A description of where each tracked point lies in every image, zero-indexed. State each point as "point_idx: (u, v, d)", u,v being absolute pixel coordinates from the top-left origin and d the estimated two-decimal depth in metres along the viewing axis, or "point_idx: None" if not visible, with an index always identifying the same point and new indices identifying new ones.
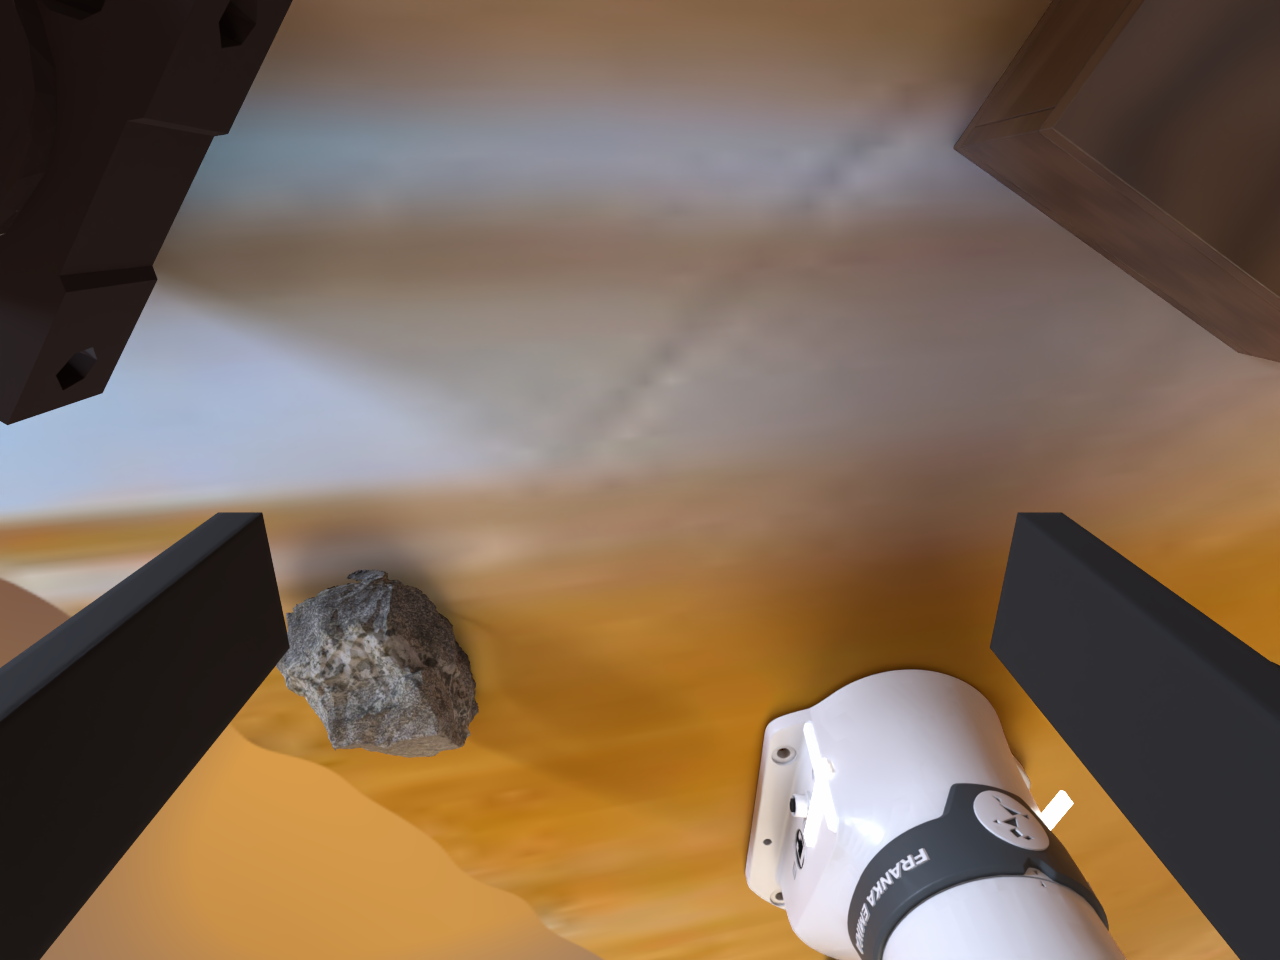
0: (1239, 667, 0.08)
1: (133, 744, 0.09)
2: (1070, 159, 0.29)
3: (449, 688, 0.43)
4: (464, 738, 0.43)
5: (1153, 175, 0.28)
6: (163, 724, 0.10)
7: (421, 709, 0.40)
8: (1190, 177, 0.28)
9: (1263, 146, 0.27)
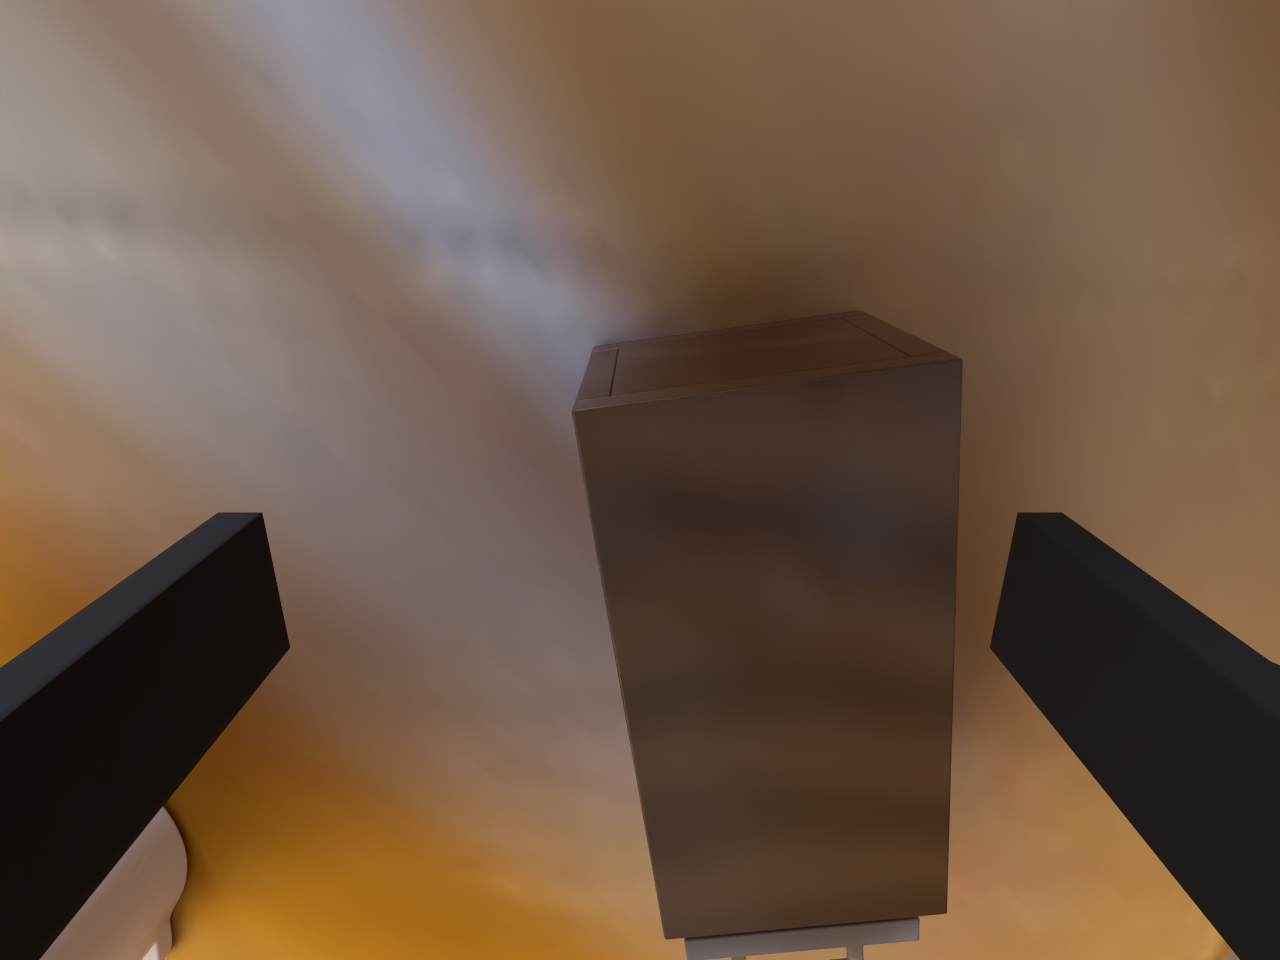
0: (1239, 667, 0.08)
1: (133, 743, 0.09)
2: None
3: None
4: None
5: (624, 559, 0.20)
6: (163, 724, 0.10)
7: None
8: (654, 596, 0.21)
9: (735, 633, 0.21)
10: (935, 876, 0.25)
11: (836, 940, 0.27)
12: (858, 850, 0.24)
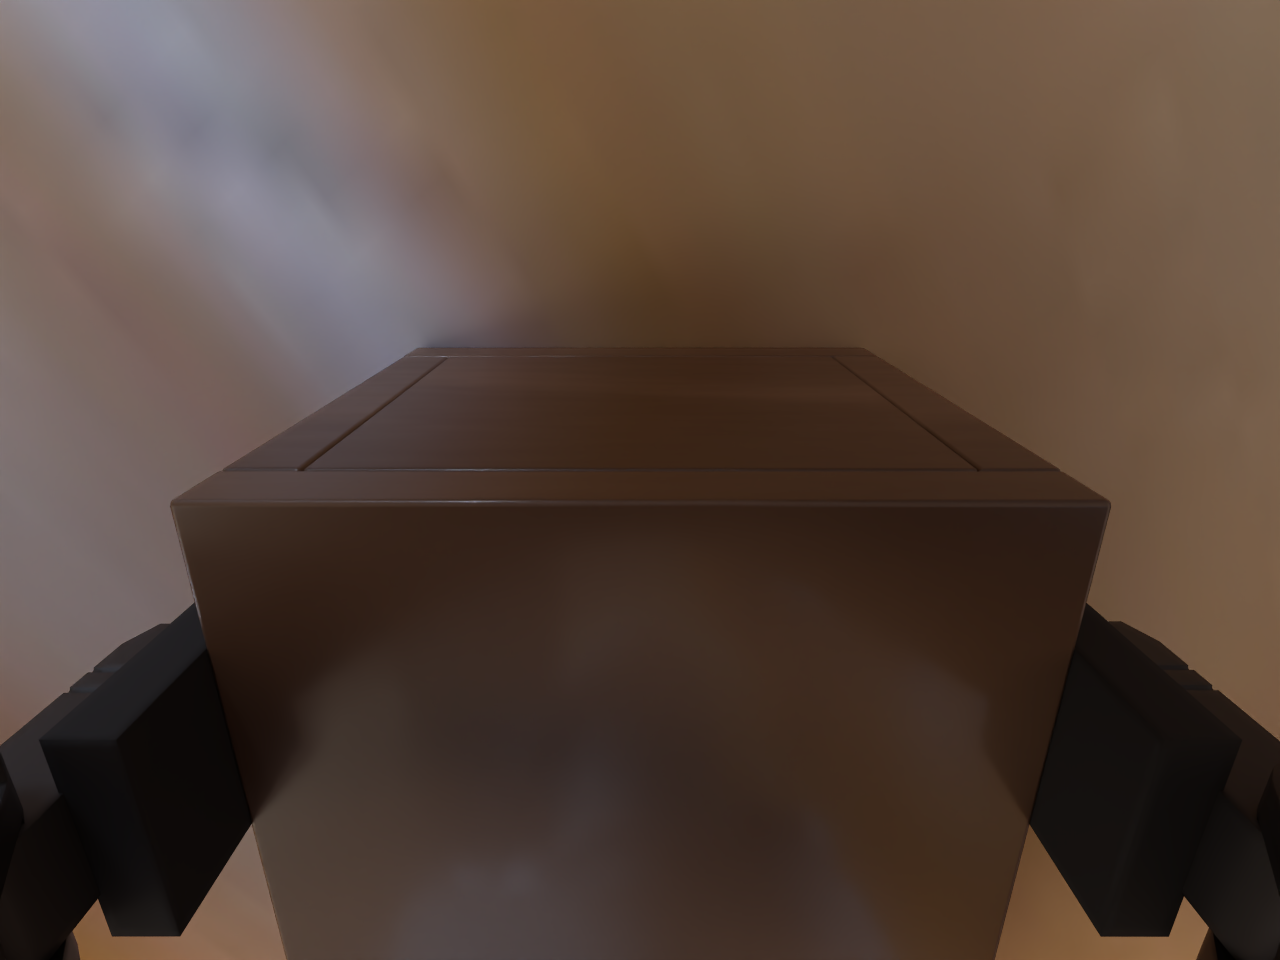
0: None
1: None
2: None
3: None
4: None
5: (307, 823, 0.09)
6: None
7: None
8: (373, 896, 0.10)
9: None
10: None
11: None
12: None
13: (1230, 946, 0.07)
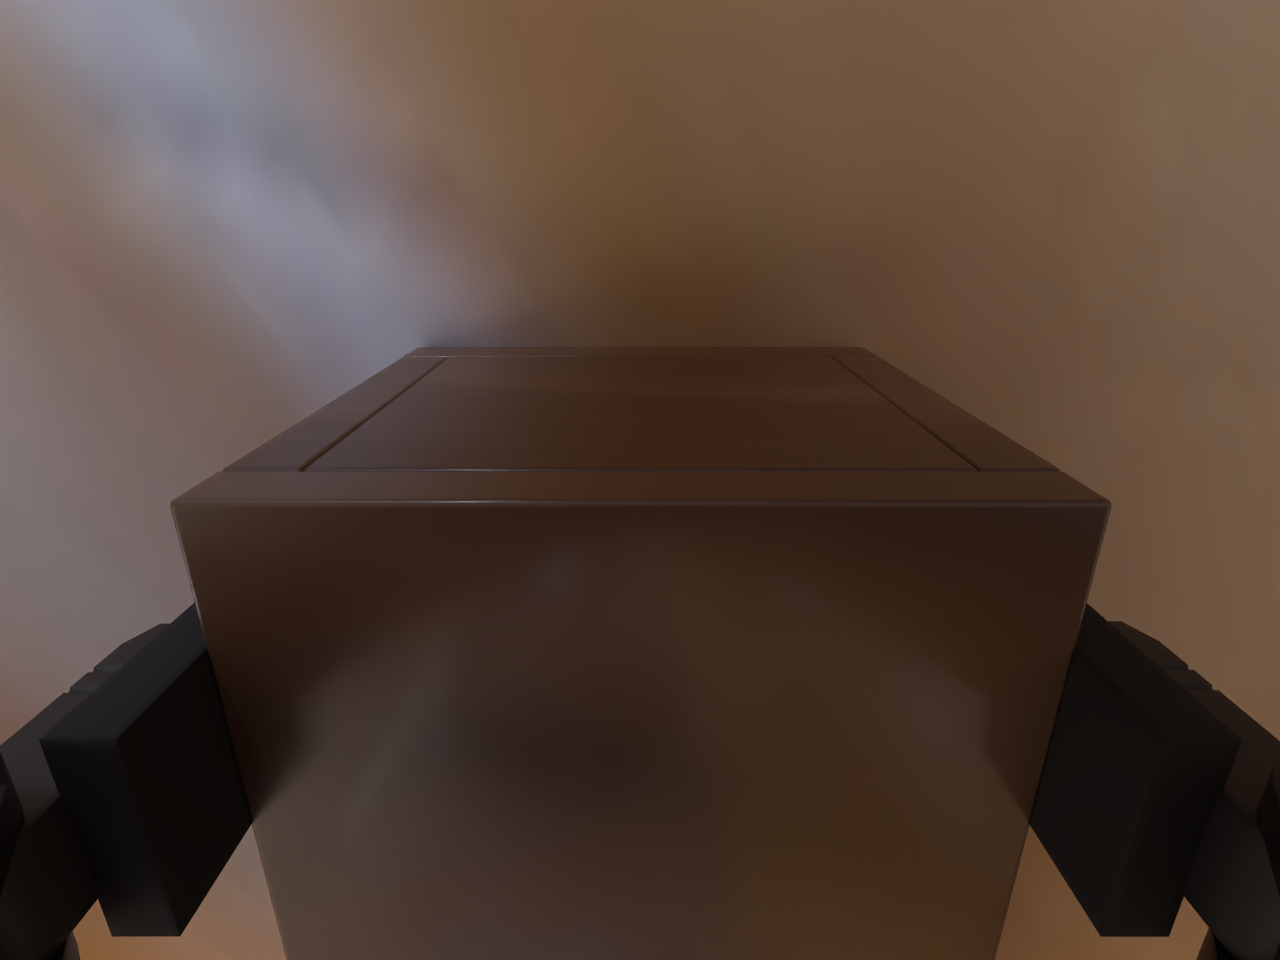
0: None
1: None
2: None
3: None
4: None
5: (308, 823, 0.09)
6: None
7: None
8: (373, 897, 0.10)
9: None
10: None
11: None
12: None
13: (1230, 946, 0.07)
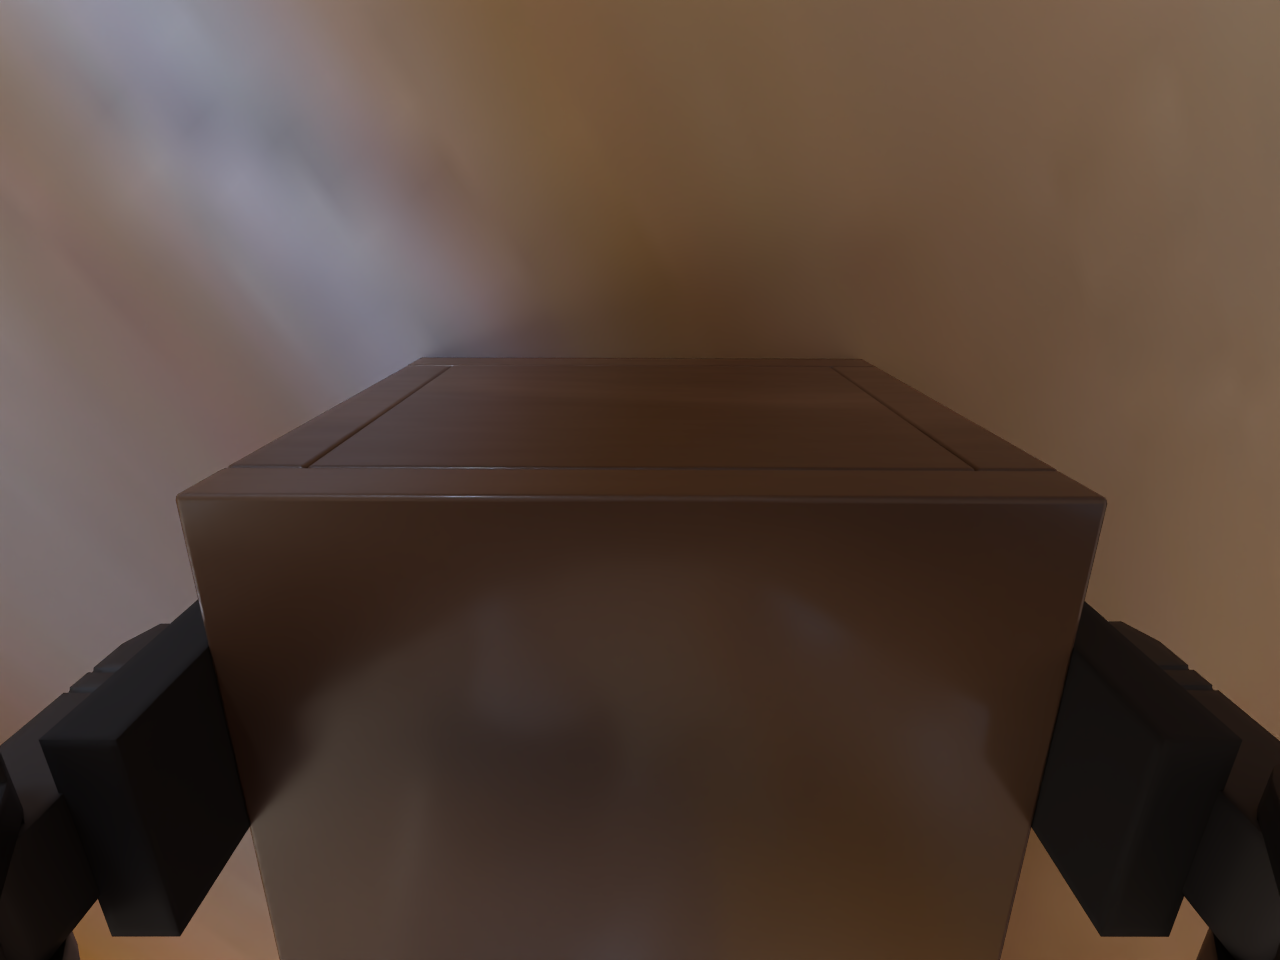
0: None
1: None
2: None
3: None
4: None
5: (305, 823, 0.09)
6: None
7: None
8: (369, 900, 0.10)
9: None
10: None
11: None
12: None
13: (1230, 946, 0.07)
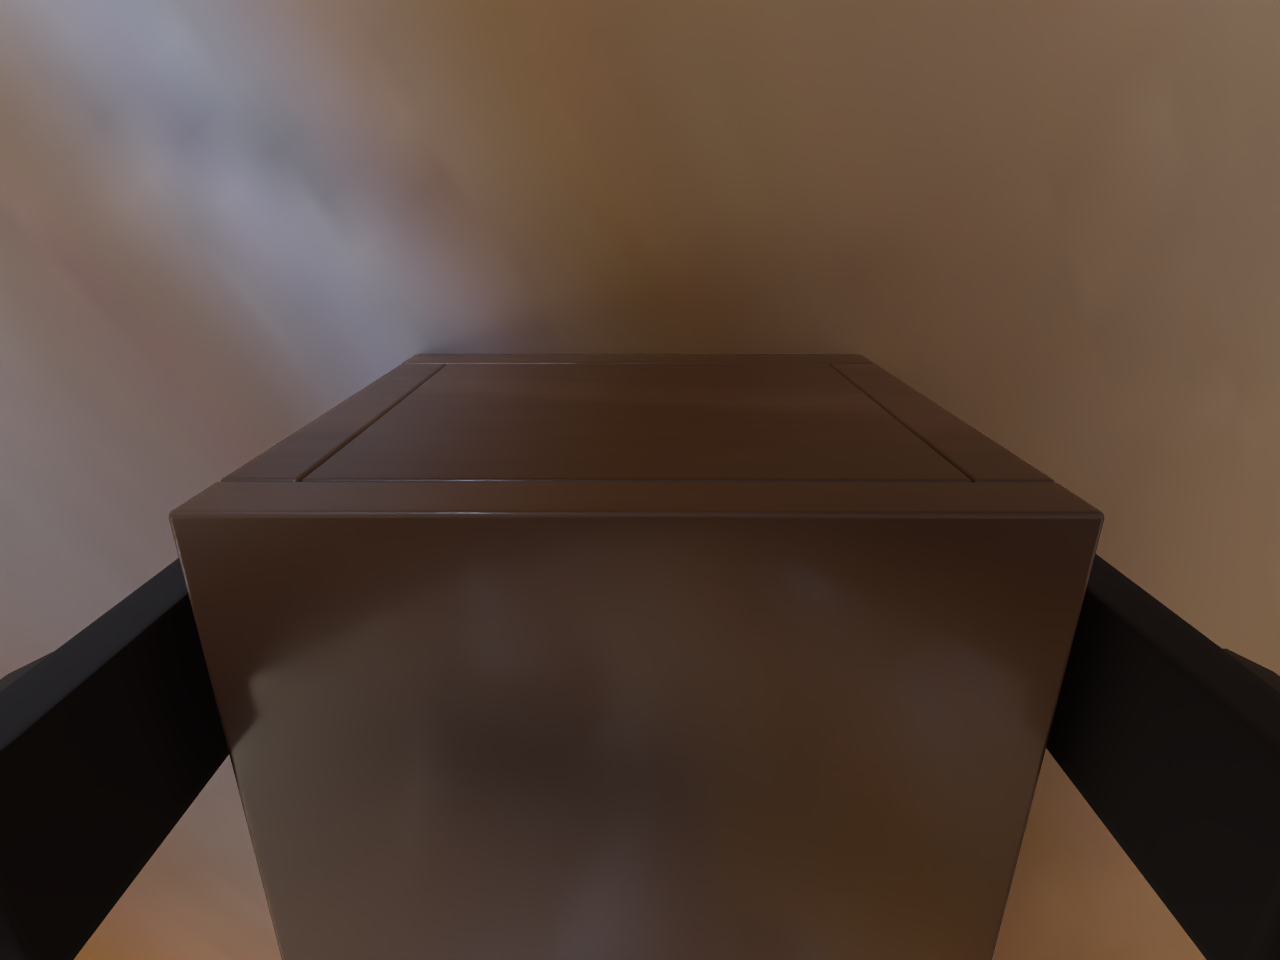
0: (1188, 652, 0.08)
1: (176, 729, 0.09)
2: None
3: None
4: None
5: (304, 832, 0.09)
6: (202, 710, 0.10)
7: None
8: (370, 905, 0.10)
9: None
10: None
11: None
12: None
13: None
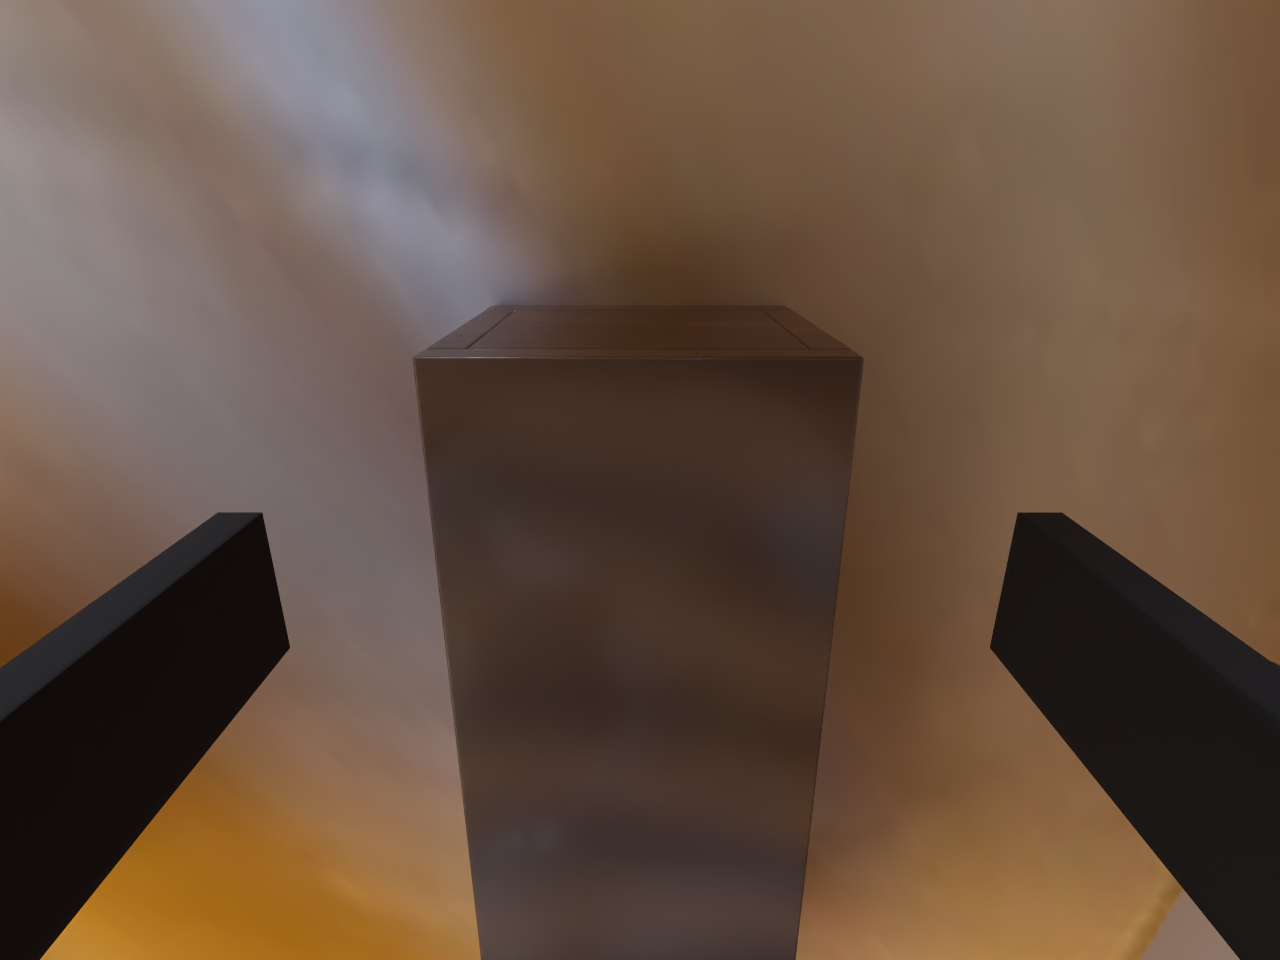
0: (1239, 667, 0.08)
1: (133, 744, 0.09)
2: None
3: None
4: None
5: (463, 539, 0.18)
6: (163, 724, 0.10)
7: None
8: (494, 585, 0.18)
9: (584, 639, 0.19)
10: (784, 931, 0.22)
11: None
12: (703, 895, 0.22)
13: None
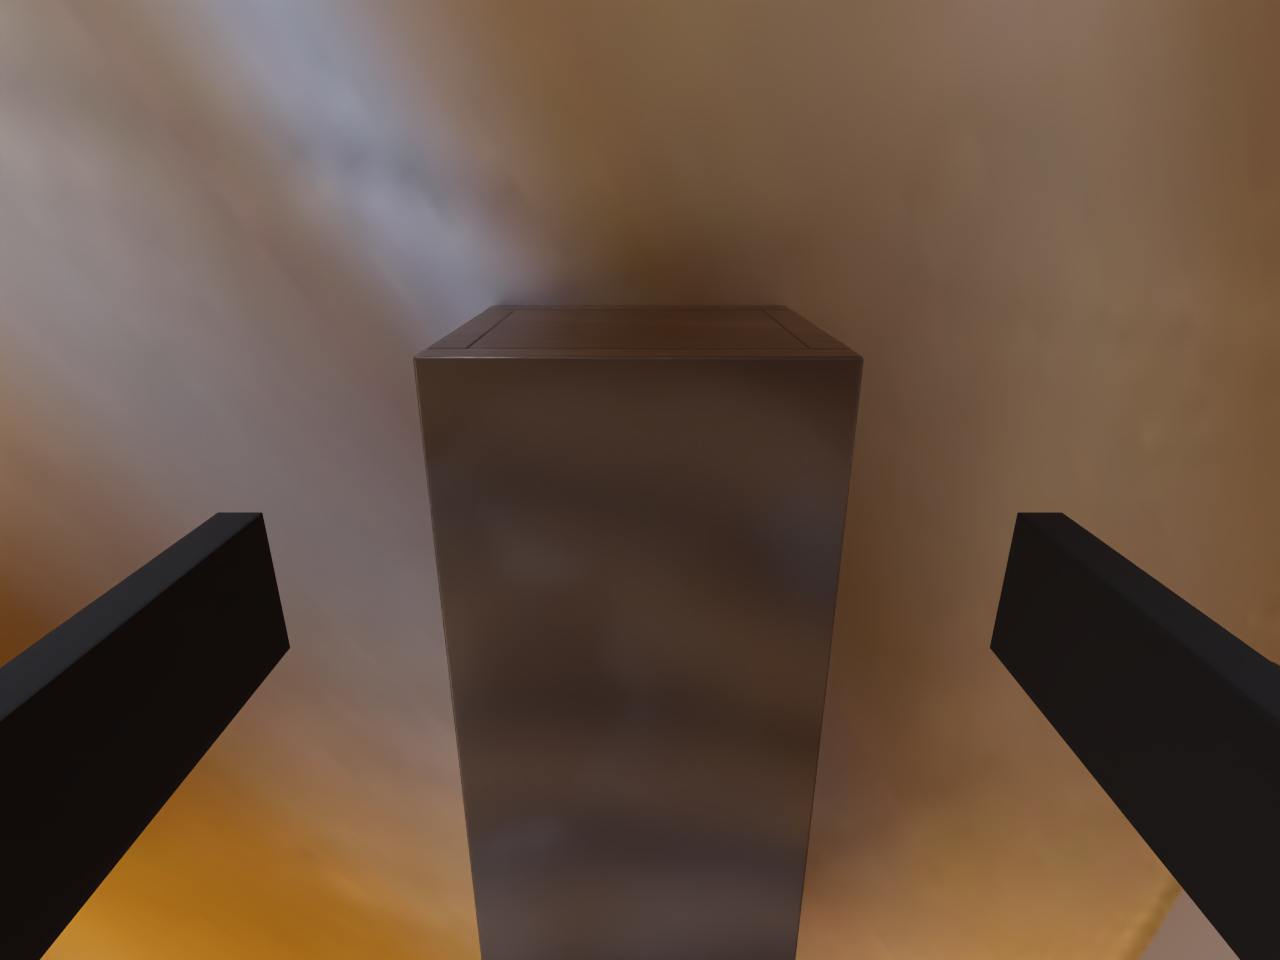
0: (1239, 667, 0.08)
1: (133, 744, 0.09)
2: None
3: None
4: None
5: (463, 539, 0.18)
6: (163, 724, 0.10)
7: None
8: (494, 585, 0.18)
9: (584, 639, 0.19)
10: (784, 931, 0.22)
11: None
12: (703, 894, 0.22)
13: None
